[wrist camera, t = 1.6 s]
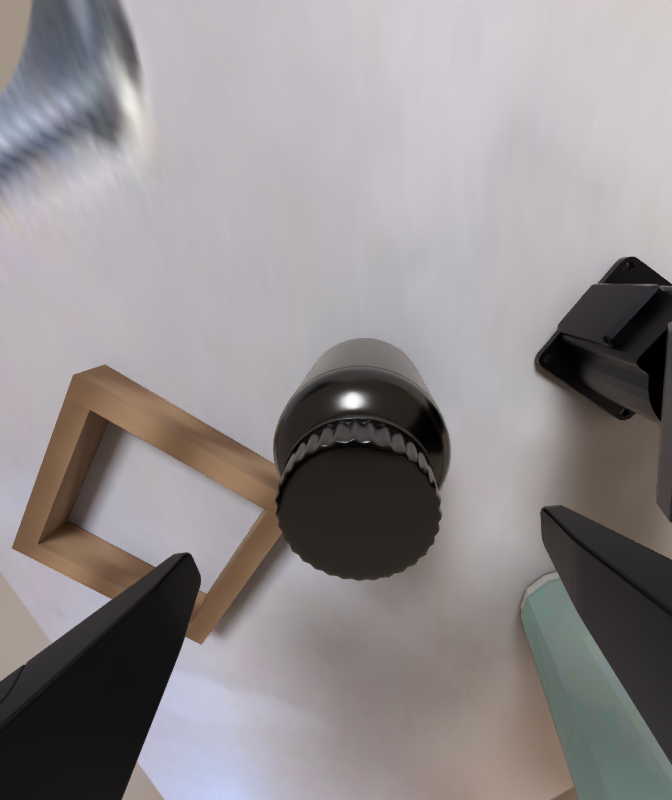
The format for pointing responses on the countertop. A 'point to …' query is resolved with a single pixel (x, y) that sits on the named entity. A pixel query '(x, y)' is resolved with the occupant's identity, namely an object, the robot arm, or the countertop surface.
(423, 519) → the supplement bottle
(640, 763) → the disposable coffee cup
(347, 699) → the countertop surface
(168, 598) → the robot arm
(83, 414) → the square wooden frame
